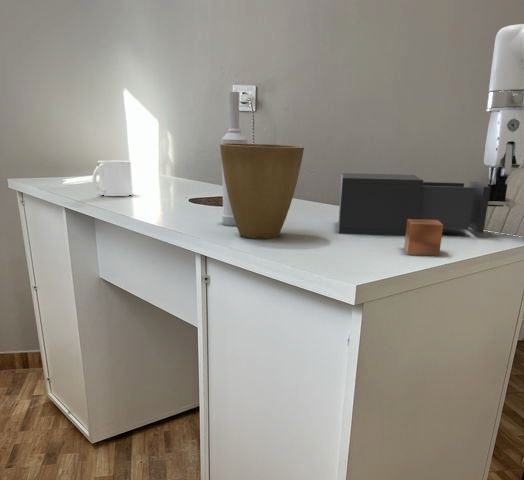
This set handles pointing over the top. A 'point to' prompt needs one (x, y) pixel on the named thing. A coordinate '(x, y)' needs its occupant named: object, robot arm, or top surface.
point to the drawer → (457, 204)
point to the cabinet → (378, 203)
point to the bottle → (231, 137)
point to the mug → (113, 178)
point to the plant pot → (260, 185)
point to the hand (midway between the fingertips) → (494, 205)
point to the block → (423, 237)
